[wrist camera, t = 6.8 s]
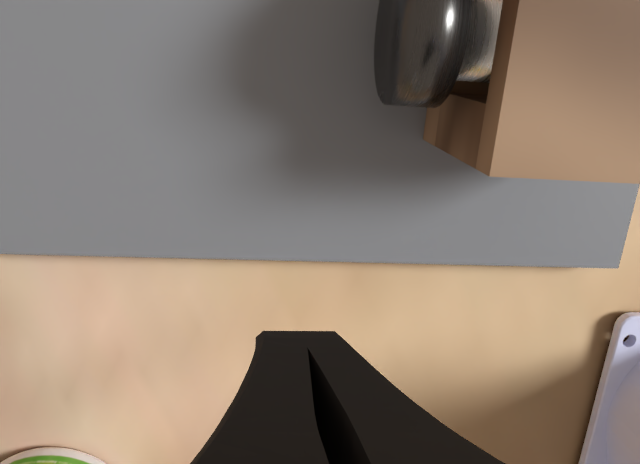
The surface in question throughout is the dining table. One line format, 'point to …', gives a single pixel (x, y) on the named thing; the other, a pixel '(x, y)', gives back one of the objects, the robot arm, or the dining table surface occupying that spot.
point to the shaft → (432, 48)
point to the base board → (253, 146)
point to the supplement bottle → (52, 457)
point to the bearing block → (552, 96)
